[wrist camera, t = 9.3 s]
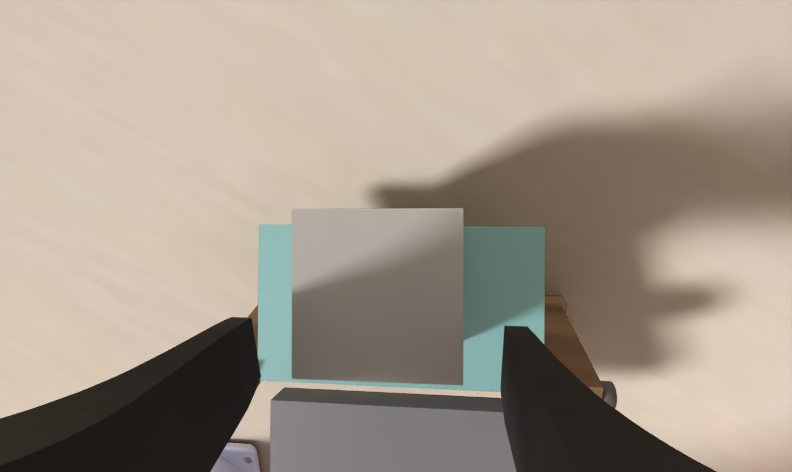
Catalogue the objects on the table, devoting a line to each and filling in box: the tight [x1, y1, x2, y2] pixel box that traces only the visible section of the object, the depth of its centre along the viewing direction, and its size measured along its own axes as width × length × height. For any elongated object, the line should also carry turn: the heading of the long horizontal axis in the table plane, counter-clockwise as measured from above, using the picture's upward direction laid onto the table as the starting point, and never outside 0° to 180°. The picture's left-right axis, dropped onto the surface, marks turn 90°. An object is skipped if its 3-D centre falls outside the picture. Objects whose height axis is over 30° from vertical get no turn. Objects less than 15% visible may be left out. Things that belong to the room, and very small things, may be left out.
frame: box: [248, 296, 617, 409], centre depth 20 cm, size 3×17×7 cm, turn 92°
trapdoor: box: [258, 225, 545, 472], centre depth 18 cm, size 11×12×2 cm
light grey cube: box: [292, 208, 463, 385], centre depth 15 cm, size 5×5×5 cm
